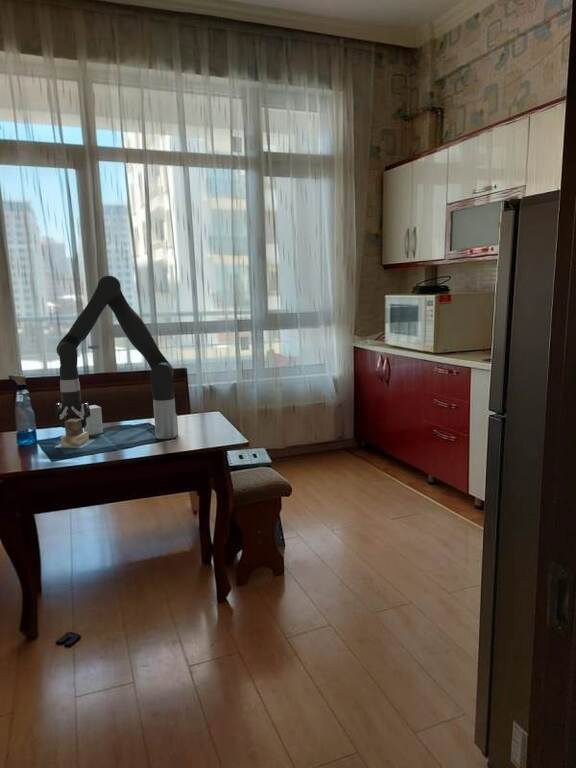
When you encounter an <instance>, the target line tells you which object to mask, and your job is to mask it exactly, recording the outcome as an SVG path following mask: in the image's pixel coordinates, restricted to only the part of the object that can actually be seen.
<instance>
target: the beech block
mask: <svg viewBox="0 0 576 768" xmlns="http://www.w3.org/2000/svg"><path fill="white" fill-rule="evenodd" d="M89 436H90V435H89V434H88V432H84V431H83V433H81V434H80V435H78V436H66V433H65V434H63V435H61V436H60V444H61V446H81V445H82V444H84V443H86V442H88V441H89V439H90V437H89Z"/></svg>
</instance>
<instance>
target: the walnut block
mask: <svg viewBox="0 0 576 768" xmlns="http://www.w3.org/2000/svg"><path fill="white" fill-rule="evenodd" d="M64 429H65V434H66V436H78V435H80V434H81V433H83V432H84V428H82V426H81V418H69V419H66V421H65V428H64Z"/></svg>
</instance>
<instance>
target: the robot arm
mask: <svg viewBox="0 0 576 768" xmlns="http://www.w3.org/2000/svg"><path fill="white" fill-rule="evenodd" d="M121 287H122V286H121V281H120V280H119V279H118V278H117V277H115V276H113V275H105V276H102V277H101V278H100V279H99V280H98V281H97V286H96V288H95V291H94V292H93V295H92V297H91V299H90V300H89V302H88V303H87V305H86V306H85V307H84V309H83V310H82V311H81V313H80V314H79V315H78V317H77V318H76V319H75V320H74V322H73V324H72V326H71V327H70V329H69V331H67V333H66V334H65V335H64V336H63V338H62V339H61V340H60V341H59V342H58V344H57V346H56V354H57V355H58V356H59V365H60V366H59V370H58V371H59V378H60V379H59V383H60V384H59V385H60V387H59V388H60V397H61V399H60V400H61V403H60V402H57V403H56V404H54V416H55V418H56V419H59V420H60V427H62V429H65V421H67V418H66V417H67V415H77V416H78V417H79V419H81V426H82V428H83V429H84V428H85V427H86V425H87V422H86V418H88V417H90V416H91V415H90V408H89V406H90V403H89V402H86V403H82V394H81V383H80V380H79V370H78V349H77V348H78V347H79V346H80V344H81V343H82V342H83V341H85V339H87V337H88V336H89V334H90V333H91V331H92V330H93V328H94V326H95V325H96V323H97V322H98V319H99V318H100V317H101V315H102V312H103V311H104V310H105V308H106V307H107V306H108V307H109V308H110V310H111V311H112V312H113V314H114V317H115V319H116V320H117V322H118V323H119V326H120V327H121V329H122V331H123V333H124V334H125V336H126V338H127V339H128V341H129V342H130V343H131V345H132V346H133V347H134V348H135V349H136V350H137V351H138V352H139V353H140V355H142V357H144V359H145V360H146V362H147V364H148V366H149V368H150V370H151V371H150V386H151V387H150V388H151V394H152V400H153V401H152V402H153V403H152V404H153V417H154V418H153V419H154V433H155V438H156V439H159V440H167V439H168V440H169V439H175V438H176V437H178V436H179V426H178V425H179V424H178V414H177V413H176V400H175V399H176V397H175V391H174V382H173V377H174V374H175V372H174V368H173V366H172V364H171V363H170V362H169V360H167V358H166V356H164V354H163V353H162V352H161V350H160V349H159V347H158V344H157V343H156V341H155V339H154V337H153V336H152V333H150V330H149V329H148V327H147V326H146V324H145V323H144V321H143V319H142V318H141V317H140V316H139V314H138V313H137V312H136V311H135V310H134V309H133V308H132V307H131V306H130V304H129V303H128V301H127V300H126V297H125V296H124V294H123V292H122V290H121V289H122V288H121ZM82 407H83V409H84V412H83V410H82ZM62 409H63V410H62ZM84 413H85V414H84Z"/></svg>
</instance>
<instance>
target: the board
mask: <svg viewBox="0 0 576 768" xmlns="http://www.w3.org/2000/svg"><path fill="white" fill-rule="evenodd" d="M94 441H96V439H92V438H91V439H90V438H89V441H88V442H86V443H84V444H82V445H81V446H61V443H59V444H58V445H56V446H55V448H69V449H70V448H71V449H72V448H75V449H76V448H77V449H78V448H84V447H85V446H87V445H89V444H91V443H93V442H94Z"/></svg>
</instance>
